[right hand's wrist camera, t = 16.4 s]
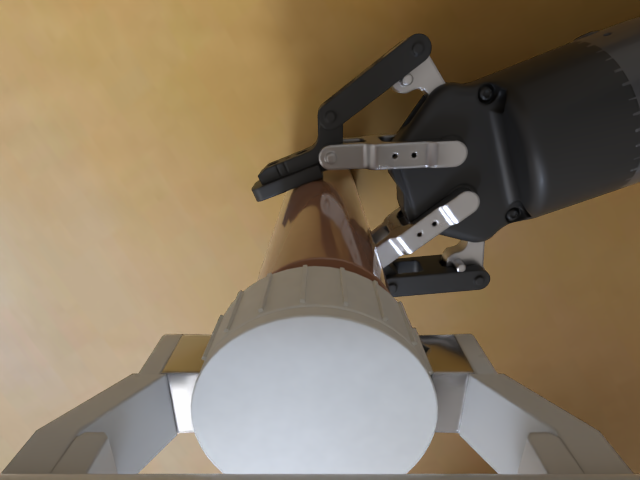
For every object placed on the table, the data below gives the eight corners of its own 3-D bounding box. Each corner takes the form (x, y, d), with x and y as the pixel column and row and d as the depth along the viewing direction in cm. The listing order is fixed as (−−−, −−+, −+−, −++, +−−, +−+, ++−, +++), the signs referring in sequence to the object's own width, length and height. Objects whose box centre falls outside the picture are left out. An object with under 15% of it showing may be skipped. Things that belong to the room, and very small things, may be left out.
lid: (426, 261, 10) (457, 311, 8) (409, 430, 12) (429, 506, 10) (203, 262, 10) (170, 312, 8) (224, 430, 12) (202, 507, 10)
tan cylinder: (316, 231, 28) (307, 463, 11) (275, 182, 27) (193, 360, 10) (367, 194, 27) (446, 386, 10) (327, 141, 26) (340, 258, 9)
